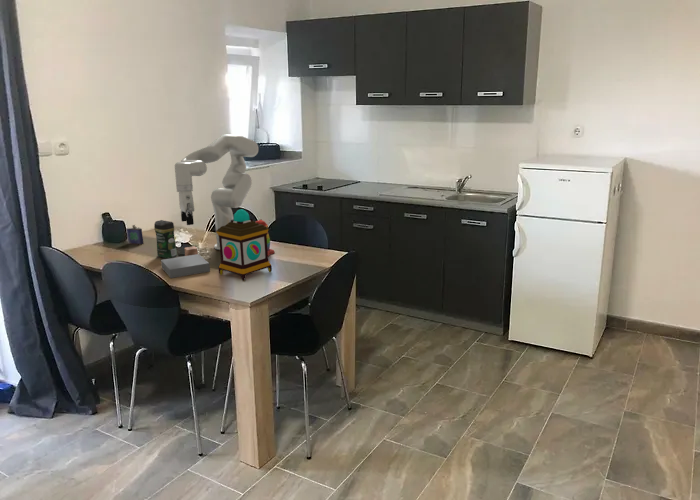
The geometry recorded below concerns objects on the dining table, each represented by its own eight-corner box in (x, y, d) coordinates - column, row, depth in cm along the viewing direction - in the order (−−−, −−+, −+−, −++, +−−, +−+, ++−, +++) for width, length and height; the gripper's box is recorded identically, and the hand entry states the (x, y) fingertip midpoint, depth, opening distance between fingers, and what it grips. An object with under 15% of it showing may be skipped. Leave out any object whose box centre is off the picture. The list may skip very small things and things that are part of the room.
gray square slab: (199, 261, 285) (198, 254, 284) (210, 271, 270) (209, 263, 269) (161, 268, 277) (160, 259, 276) (170, 278, 262) (169, 269, 261)
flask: (127, 244, 321) (124, 225, 318) (130, 242, 324) (128, 224, 321) (142, 244, 319) (139, 225, 316) (145, 243, 321) (142, 224, 318)
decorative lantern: (247, 264, 280) (243, 203, 272) (276, 271, 268) (272, 207, 259) (214, 275, 265) (208, 210, 257) (243, 283, 253) (238, 215, 245)
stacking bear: (266, 258, 289) (264, 223, 284) (248, 256, 292) (245, 222, 288) (276, 252, 299) (274, 218, 294) (258, 250, 302) (256, 217, 297)
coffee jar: (154, 256, 295) (150, 221, 290) (167, 253, 302) (163, 218, 297) (167, 259, 290) (163, 223, 285) (179, 255, 296) (176, 220, 291)
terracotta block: (195, 257, 293) (194, 246, 291) (198, 260, 288) (197, 248, 287) (185, 259, 290) (184, 247, 289) (188, 261, 286) (187, 250, 284)
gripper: (197, 189, 274) (200, 225, 278) (187, 185, 288) (190, 218, 293) (181, 191, 270) (184, 227, 275) (172, 186, 285) (175, 220, 289)
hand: (187, 222), depth 284 cm, fingers open, 9 cm apart
